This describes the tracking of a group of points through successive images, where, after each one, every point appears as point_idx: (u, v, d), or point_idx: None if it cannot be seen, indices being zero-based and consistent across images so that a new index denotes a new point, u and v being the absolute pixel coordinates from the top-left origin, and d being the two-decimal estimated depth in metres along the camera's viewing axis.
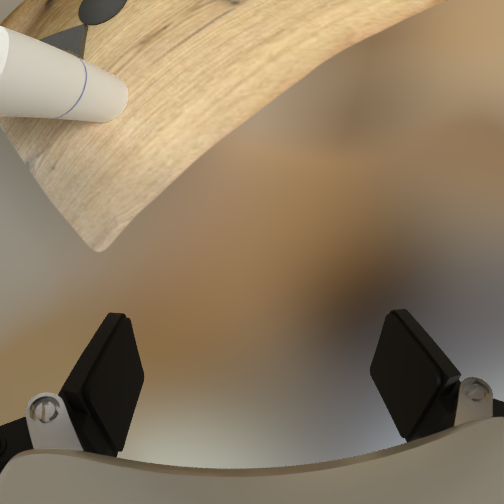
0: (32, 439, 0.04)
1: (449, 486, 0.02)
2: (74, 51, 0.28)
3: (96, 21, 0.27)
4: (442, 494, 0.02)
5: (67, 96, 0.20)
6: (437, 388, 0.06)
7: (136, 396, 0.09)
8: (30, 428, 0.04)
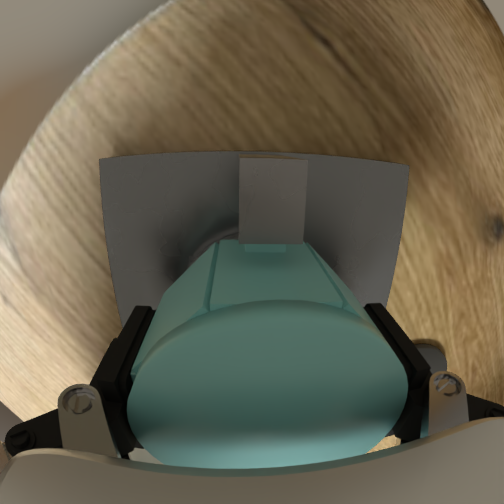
0: (61, 429, 0.04)
1: (449, 486, 0.02)
2: None
3: None
4: (442, 494, 0.02)
5: None
6: None
7: None
8: (61, 418, 0.05)
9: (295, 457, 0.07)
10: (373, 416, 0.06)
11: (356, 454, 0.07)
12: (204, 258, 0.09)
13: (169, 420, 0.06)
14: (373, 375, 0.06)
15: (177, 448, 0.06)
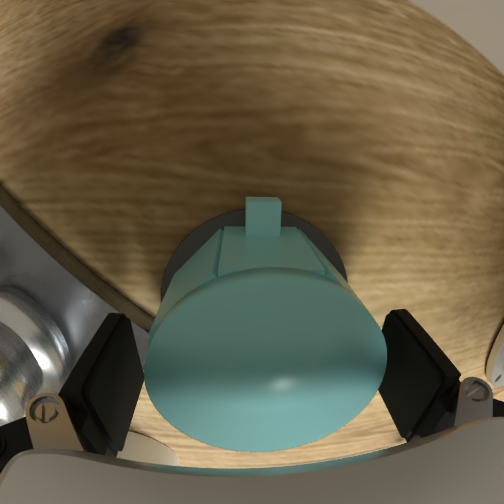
0: (32, 439, 0.04)
1: (449, 486, 0.02)
2: None
3: None
4: (442, 495, 0.02)
5: None
6: (437, 388, 0.06)
7: (136, 396, 0.09)
8: (31, 429, 0.04)
9: (290, 417, 0.08)
10: (358, 376, 0.08)
11: (346, 418, 0.09)
12: (211, 241, 0.11)
13: (181, 375, 0.07)
14: (353, 333, 0.07)
15: (186, 406, 0.08)
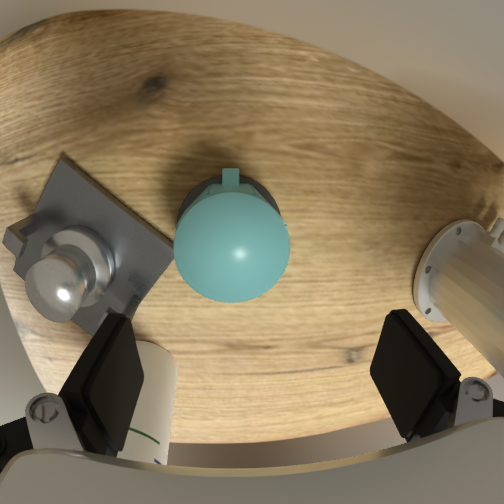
0: (32, 439, 0.04)
1: (449, 486, 0.02)
2: (137, 285, 0.23)
3: None
4: (441, 495, 0.02)
5: None
6: (437, 388, 0.06)
7: (136, 396, 0.09)
8: (30, 428, 0.04)
9: (244, 270, 0.19)
10: (275, 245, 0.18)
11: (275, 276, 0.19)
12: (205, 190, 0.21)
13: (191, 240, 0.18)
14: (267, 218, 0.18)
15: (192, 261, 0.18)
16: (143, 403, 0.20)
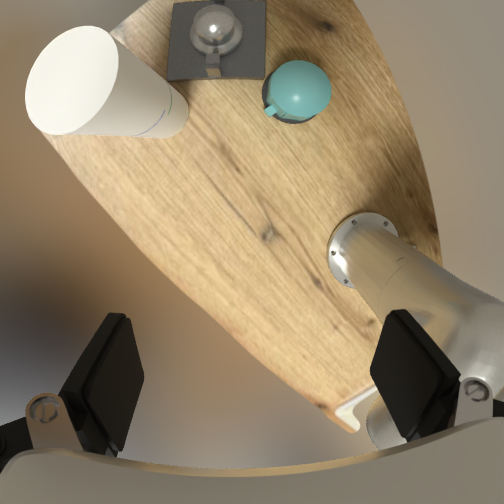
0: (32, 439, 0.04)
1: (449, 486, 0.02)
2: (228, 69, 0.33)
3: (265, 90, 0.35)
4: (442, 494, 0.02)
5: None
6: (437, 388, 0.06)
7: (136, 396, 0.09)
8: (31, 428, 0.04)
9: (297, 98, 0.31)
10: (318, 103, 0.31)
11: (305, 114, 0.31)
12: None
13: (293, 68, 0.29)
14: (326, 92, 0.30)
15: (284, 74, 0.29)
16: (177, 99, 0.28)
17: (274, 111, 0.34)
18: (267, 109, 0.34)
